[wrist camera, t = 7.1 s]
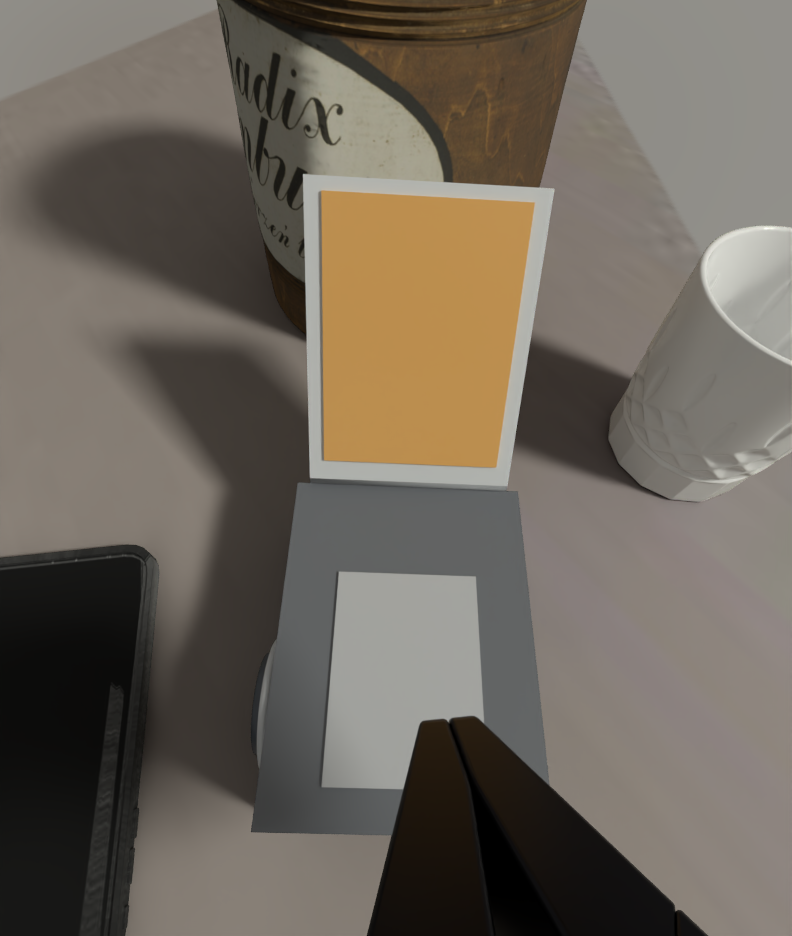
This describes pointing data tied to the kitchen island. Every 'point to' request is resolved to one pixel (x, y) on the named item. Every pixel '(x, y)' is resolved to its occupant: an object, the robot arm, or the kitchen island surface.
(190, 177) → the kitchen island surface
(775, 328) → the white cup
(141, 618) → the phone
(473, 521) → the camera case
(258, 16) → the wooden container
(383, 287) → the side door
